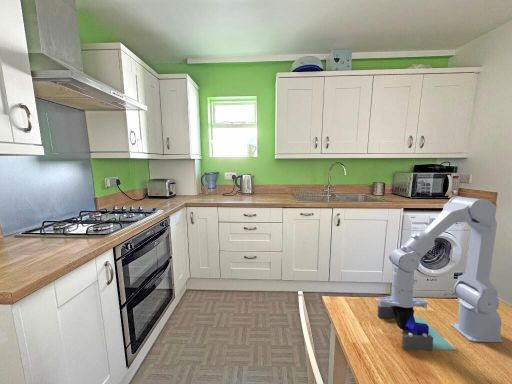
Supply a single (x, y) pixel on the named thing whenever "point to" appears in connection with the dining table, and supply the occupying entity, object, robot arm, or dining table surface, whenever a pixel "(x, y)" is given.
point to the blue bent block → (416, 327)
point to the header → (409, 340)
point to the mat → (436, 337)
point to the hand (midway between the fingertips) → (400, 327)
